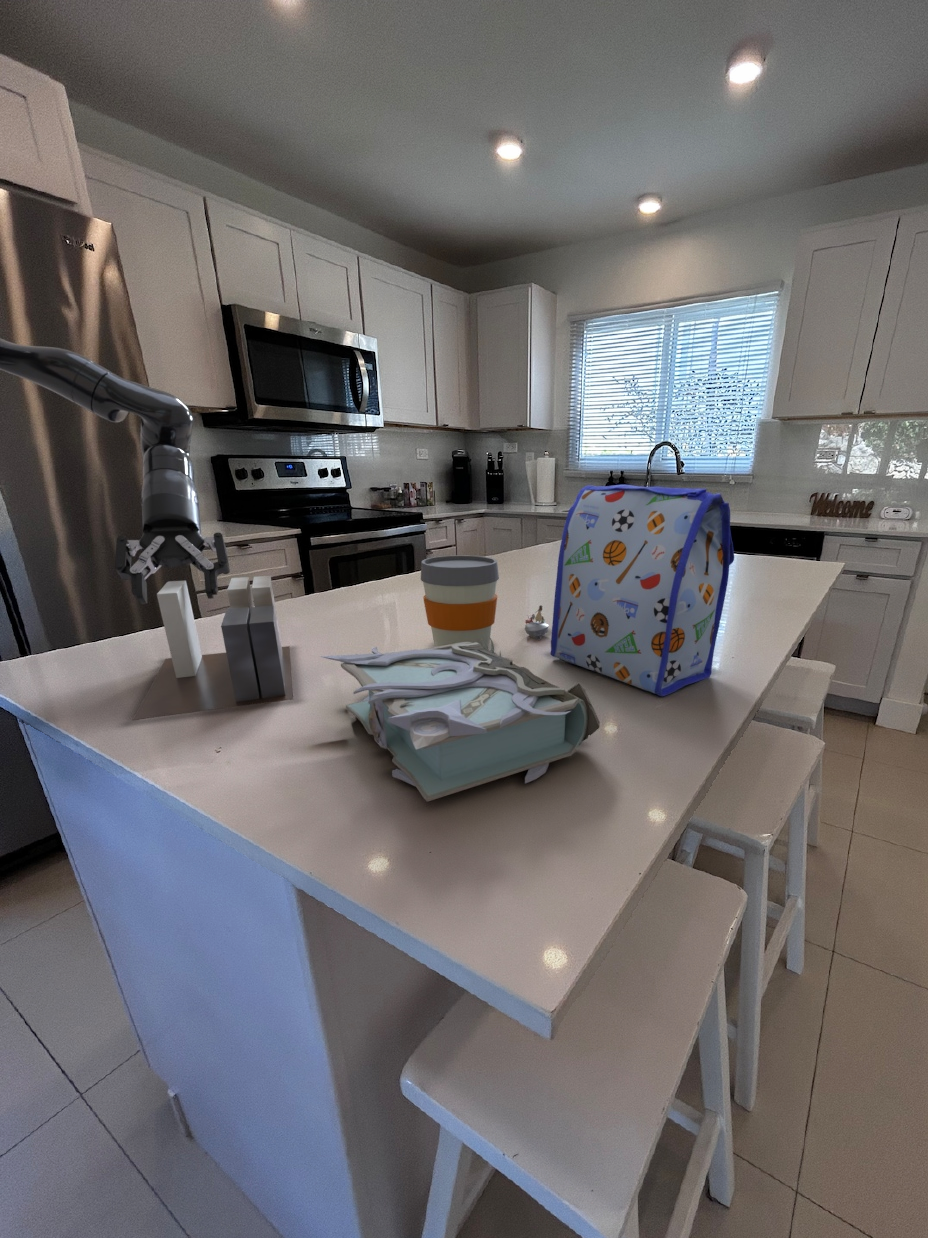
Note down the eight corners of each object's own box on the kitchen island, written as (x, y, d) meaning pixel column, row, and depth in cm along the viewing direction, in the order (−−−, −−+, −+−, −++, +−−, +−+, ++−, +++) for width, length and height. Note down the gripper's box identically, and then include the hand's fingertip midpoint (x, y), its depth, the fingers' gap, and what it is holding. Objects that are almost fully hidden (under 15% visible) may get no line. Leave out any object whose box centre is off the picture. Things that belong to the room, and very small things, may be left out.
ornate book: (609, 769, 61) (475, 676, 84) (618, 687, 57) (474, 613, 80) (414, 838, 49) (320, 708, 72) (408, 742, 46) (311, 637, 69)
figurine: (539, 642, 100) (540, 609, 98) (518, 638, 102) (518, 606, 100) (553, 635, 104) (554, 603, 102) (533, 631, 106) (533, 600, 104)
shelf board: (134, 729, 67) (104, 621, 62) (167, 665, 88) (147, 581, 83) (295, 707, 73) (279, 607, 68) (290, 653, 94) (278, 573, 89)
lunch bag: (726, 673, 86) (755, 486, 76) (666, 702, 75) (690, 490, 65) (607, 640, 101) (617, 482, 91) (543, 661, 91) (547, 484, 81)
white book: (176, 678, 79) (156, 594, 75) (184, 659, 87) (167, 581, 83) (195, 676, 80) (176, 592, 76) (202, 657, 88) (185, 580, 84)
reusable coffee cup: (409, 653, 94) (402, 562, 88) (456, 636, 104) (453, 552, 98) (468, 668, 87) (466, 570, 82) (513, 647, 97) (514, 559, 92)
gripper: (227, 523, 92) (235, 608, 86) (125, 526, 87) (127, 616, 82) (218, 490, 86) (226, 579, 80) (107, 491, 81) (108, 587, 75)
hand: (176, 598), depth 81 cm, fingers open, 8 cm apart
